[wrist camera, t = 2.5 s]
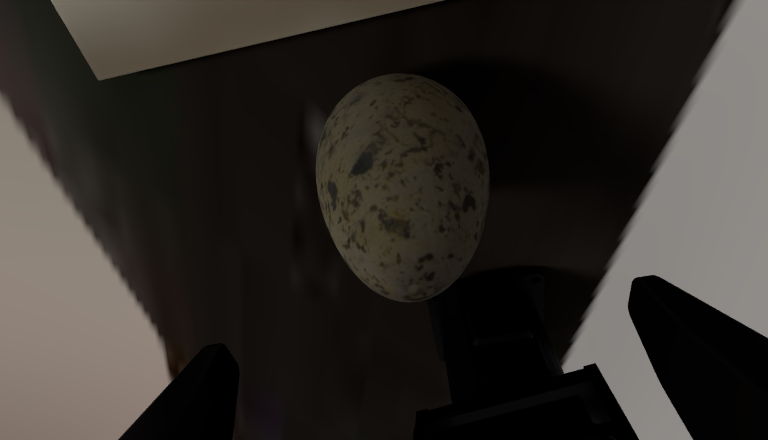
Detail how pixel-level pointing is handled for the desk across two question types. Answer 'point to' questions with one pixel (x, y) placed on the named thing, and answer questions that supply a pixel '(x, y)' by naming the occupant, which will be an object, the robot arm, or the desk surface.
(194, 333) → the desk surface
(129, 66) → the fitting board
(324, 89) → the desk surface
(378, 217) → the decorative egg
